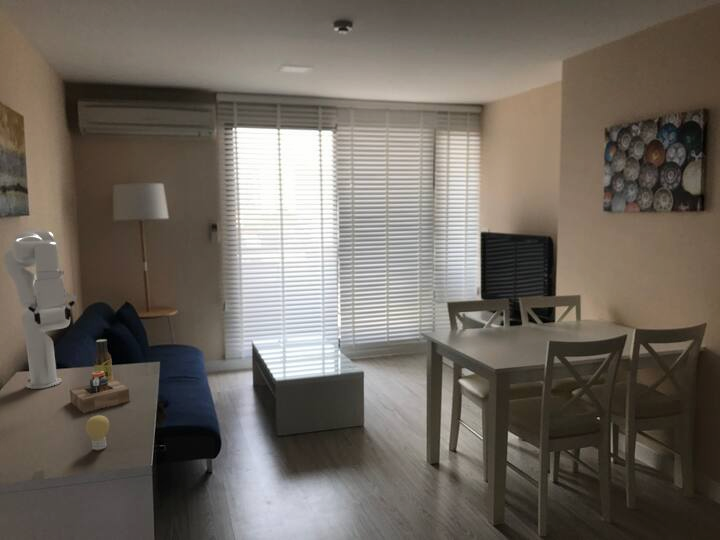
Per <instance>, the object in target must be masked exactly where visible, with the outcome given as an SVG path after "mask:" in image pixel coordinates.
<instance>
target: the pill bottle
mask: <svg viewBox="0 0 720 540" xmlns="http://www.w3.org/2000/svg"><path fill="white" fill-rule="evenodd" d="M91 374H92V375H91V377H92V378H90V380H89V385H90V389H91V394H93V393H98V392H102V391H106V390H108V380H107V377H105V376H104V371H96V372H95V371H93V372H92V373H91Z"/></svg>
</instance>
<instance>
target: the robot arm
mask: <svg viewBox="0 0 720 540" xmlns="http://www.w3.org/2000/svg"><path fill="white" fill-rule="evenodd" d="M59 259H60V258H59V247H58V244H57V242H56V239H55V236H54V234H53V233H52V232H51V231H49V230H33V231H31V230H30V231H22V232H19V233H18V234H16V235H15V237H14V239H13V242H12V244H11V249H9V250H7V251H5V252H4V255H3V263H4V267H5V270H6V271H7V273H8V275H9V277H10V279H12V281H13V283H14V285H15V287H16V291H17V294H18V295H17V296H18V299H19V302H20V305H21V308H22V309H24V310H26V311H25V312H24V313H22V315H21V317H20V322H21V327H22V329H23V332H24V333H23V334H24V337H25V338H24V339H25V343H26V351H27V352H26V353H27V362H28V370H29V377H30V378H29V379H30V381H29V382H27V384H26V388H27V389H29V388H30V389H29V390H39V389H40V390H41V389H47V388H52V387H54V385H55V386H57V385H59V384H61V383H60V382H62V378H61V377H59V376H58V375H57V364H56V358H55V348H54V341H53V339H52V338H51V337H50V336H49V335H48V334H46V332H49V331H56V330H61V329H65V328H67V327H69V325H70V323H71V317H72V314H71V309H72V307H73V306H74V305H75V303H76V301H77V298H78V296H77V295H74V294H71V293H68V292H67V290H66V285H65V281H64V279H63V277H62V276H63V275H65V271H64V270H61V269H60V260H59ZM26 268H35V271H36V275H35V273H33V272H31V270H28V269H26ZM68 298H71V300H70V301H69V302H68ZM51 386H52V387H51Z"/></svg>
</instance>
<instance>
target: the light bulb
mask: <svg viewBox="0 0 720 540" xmlns="http://www.w3.org/2000/svg"><path fill="white" fill-rule="evenodd" d="M109 429H110V421H109V419H108V418H107V417H106V416H105V415H101V414H99V415H94V416H92V417H90V418H89V419H88V420H87V422H86V424H85V433H86V434H87V435H88V436H89V437H90V438H91V444H92V449H93V450H94V451H101V450H104V449H105V448H106V447H107V440H106V439H107V438H106V435H107V433H108V432H109Z"/></svg>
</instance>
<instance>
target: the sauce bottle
mask: <svg viewBox="0 0 720 540" xmlns="http://www.w3.org/2000/svg"><path fill="white" fill-rule="evenodd" d="M95 346H96V354H95V356H94V359H93V362H94V365H93V367H94V372H96V371H104V376H105V377H107V380H108V381H110V380H114V375H113V365H112V363H113V361H112V356H111V354H110V353H109V351H108V339H105V338H104V339H97V340H95Z"/></svg>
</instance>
